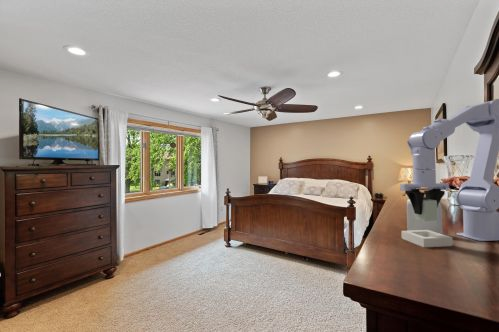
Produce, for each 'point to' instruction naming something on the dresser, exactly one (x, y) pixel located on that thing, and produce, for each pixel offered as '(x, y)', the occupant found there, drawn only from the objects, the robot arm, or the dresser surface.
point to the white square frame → (427, 238)
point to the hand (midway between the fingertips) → (425, 213)
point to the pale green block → (428, 210)
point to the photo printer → (423, 225)
